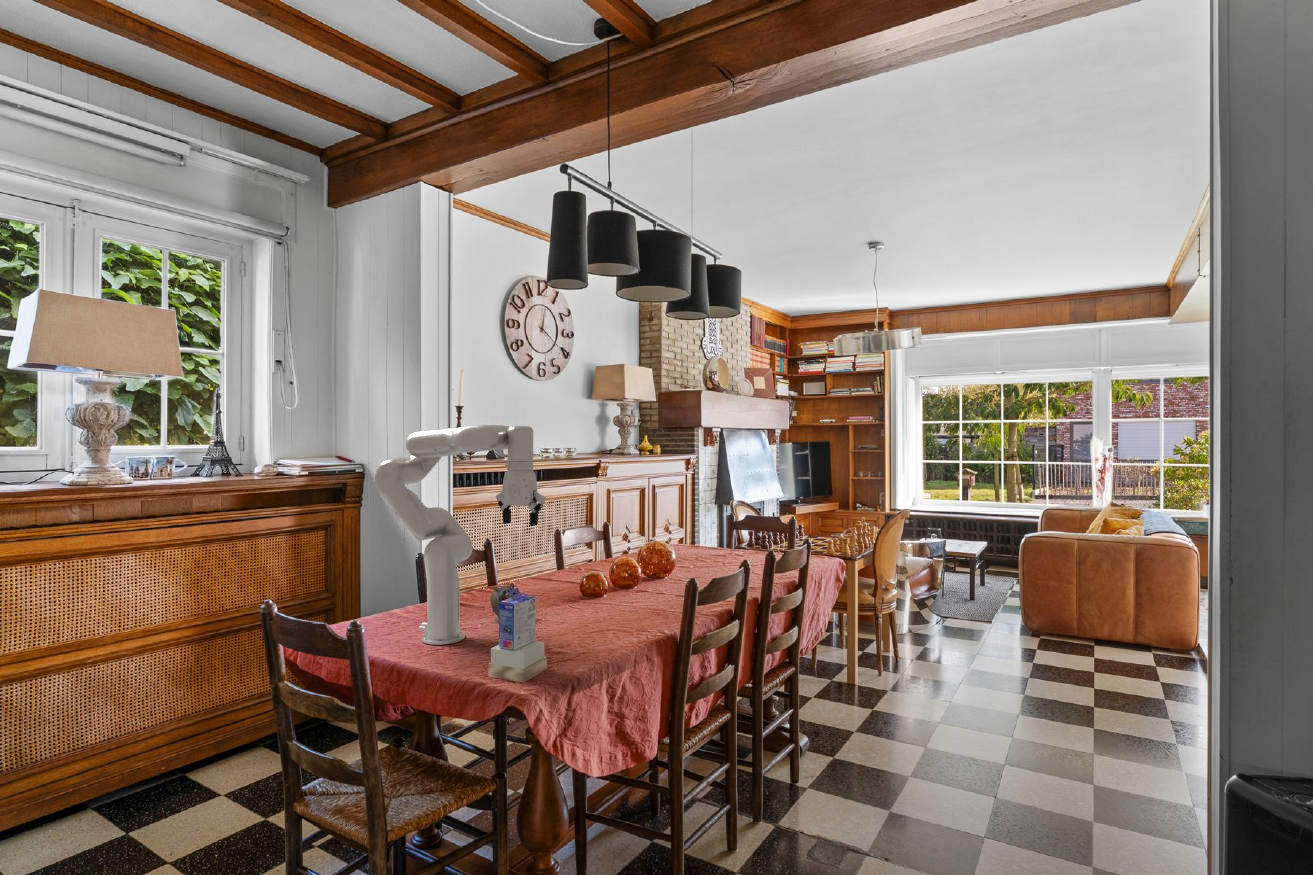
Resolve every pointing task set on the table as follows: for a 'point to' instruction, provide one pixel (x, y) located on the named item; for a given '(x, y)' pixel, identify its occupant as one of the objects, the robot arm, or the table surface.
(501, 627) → the ink cartridge box
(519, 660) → the tower top block
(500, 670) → the tower bottom block
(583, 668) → the table surface
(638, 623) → the table surface
